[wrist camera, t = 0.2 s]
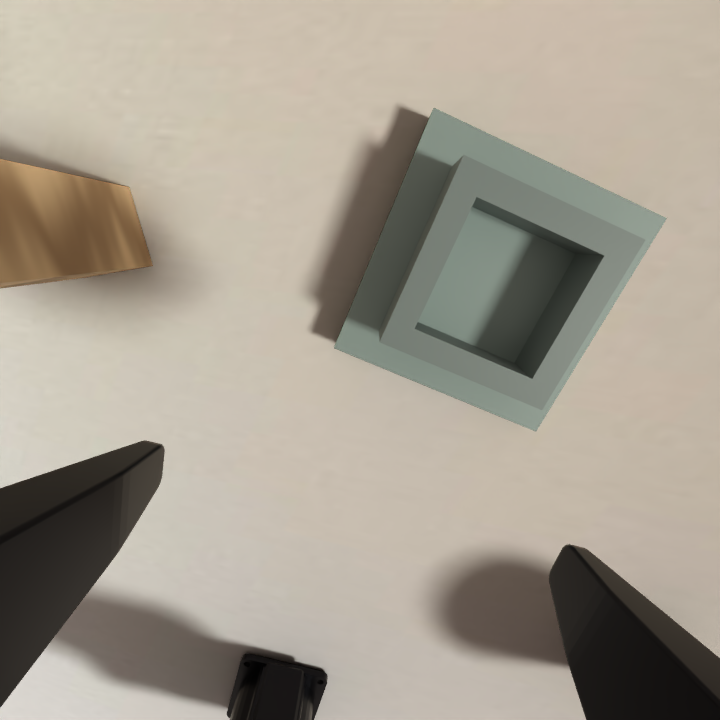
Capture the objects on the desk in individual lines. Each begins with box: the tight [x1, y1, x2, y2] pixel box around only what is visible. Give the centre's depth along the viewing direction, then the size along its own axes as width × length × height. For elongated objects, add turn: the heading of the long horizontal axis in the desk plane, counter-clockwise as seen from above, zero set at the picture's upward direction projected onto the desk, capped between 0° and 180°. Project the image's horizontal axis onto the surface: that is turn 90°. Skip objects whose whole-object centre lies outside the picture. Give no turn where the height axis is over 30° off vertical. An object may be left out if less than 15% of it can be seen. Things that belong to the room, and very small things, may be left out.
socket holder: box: [334, 108, 667, 431], centre depth 19 cm, size 12×12×4 cm
